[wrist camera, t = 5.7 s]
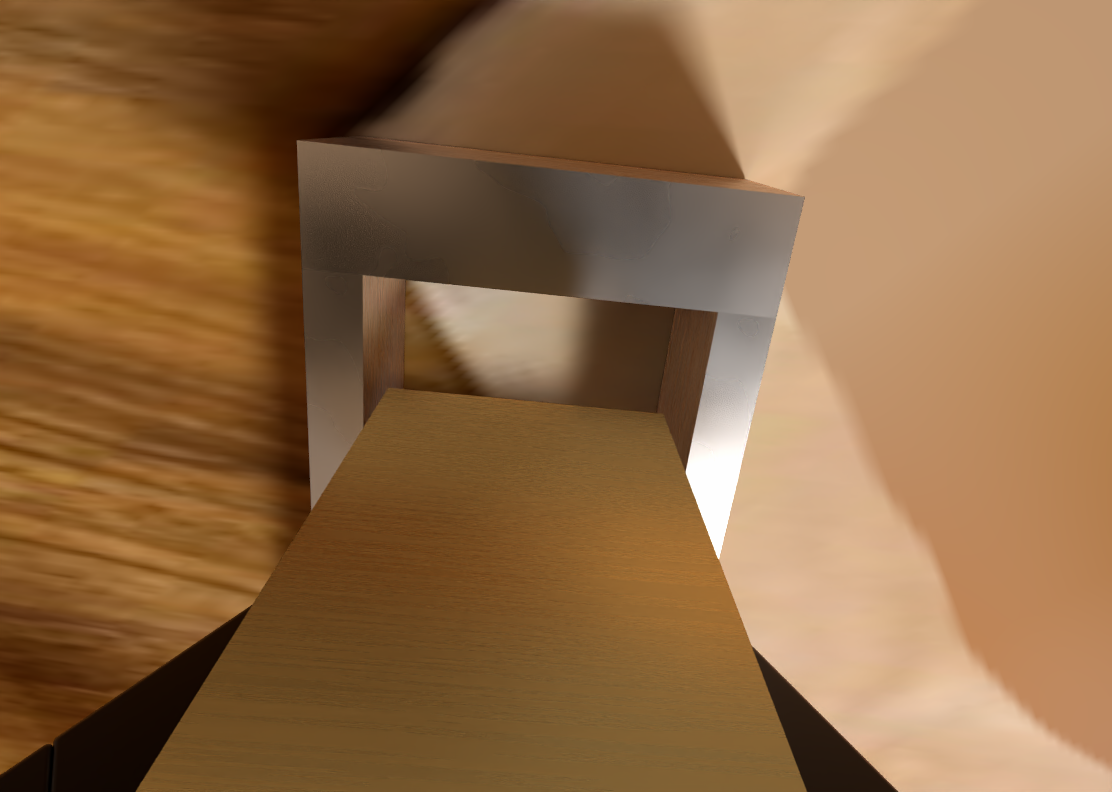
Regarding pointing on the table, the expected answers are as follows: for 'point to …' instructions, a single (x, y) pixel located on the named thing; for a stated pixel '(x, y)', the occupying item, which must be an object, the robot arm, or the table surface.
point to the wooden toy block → (491, 623)
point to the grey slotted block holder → (540, 276)
